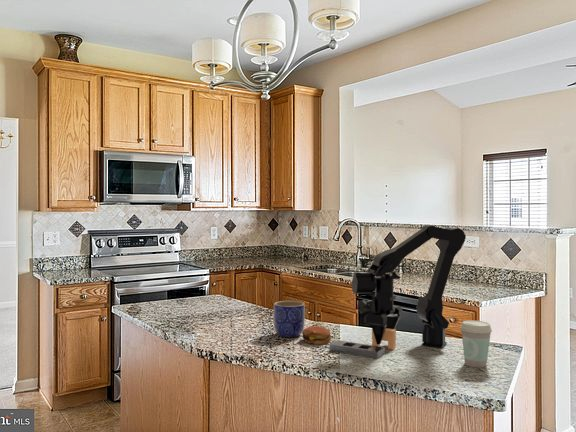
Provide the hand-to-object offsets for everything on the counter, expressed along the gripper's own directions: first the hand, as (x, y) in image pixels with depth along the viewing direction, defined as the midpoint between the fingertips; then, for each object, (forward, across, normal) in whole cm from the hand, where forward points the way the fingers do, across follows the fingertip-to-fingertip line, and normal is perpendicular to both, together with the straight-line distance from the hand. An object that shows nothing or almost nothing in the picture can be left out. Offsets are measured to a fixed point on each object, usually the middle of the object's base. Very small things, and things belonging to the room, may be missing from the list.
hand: (383, 341), depth 165 cm
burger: (+2, +5, -22) cm, 23 cm away
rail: (+2, +10, -5) cm, 11 cm away
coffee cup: (+2, +3, +29) cm, 29 cm away
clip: (+2, 0, 0) cm, 2 cm away
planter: (+2, +3, -34) cm, 34 cm away
